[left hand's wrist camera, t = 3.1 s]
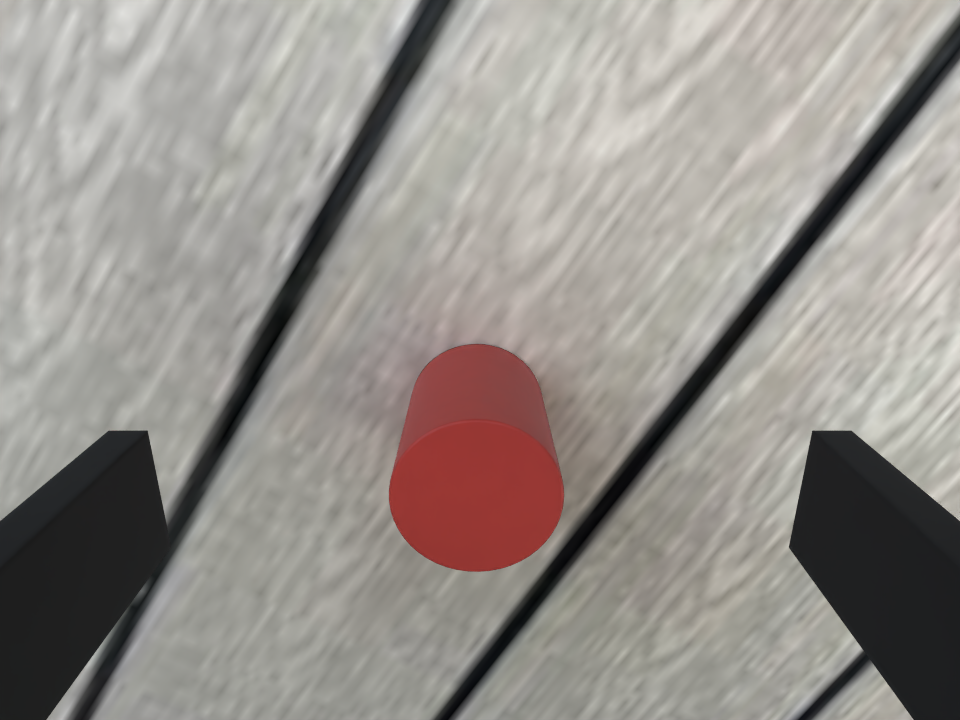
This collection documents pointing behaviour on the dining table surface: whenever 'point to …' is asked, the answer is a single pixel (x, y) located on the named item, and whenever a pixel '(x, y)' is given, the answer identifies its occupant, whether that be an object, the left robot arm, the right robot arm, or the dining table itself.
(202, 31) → the dining table surface
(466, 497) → the can
